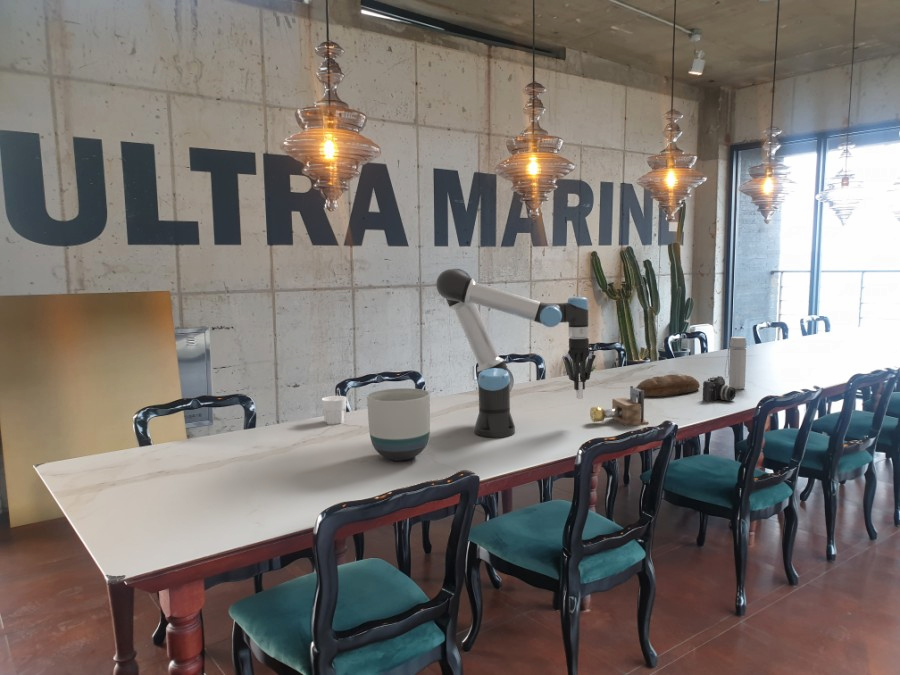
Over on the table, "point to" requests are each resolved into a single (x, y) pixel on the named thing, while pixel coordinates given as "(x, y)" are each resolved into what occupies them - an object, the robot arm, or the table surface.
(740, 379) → the water bottle
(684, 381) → the bread
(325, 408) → the cup
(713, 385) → the camera
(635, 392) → the keeper
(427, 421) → the planter
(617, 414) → the pin
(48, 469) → the table surface
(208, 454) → the table surface
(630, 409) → the block
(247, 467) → the table surface
